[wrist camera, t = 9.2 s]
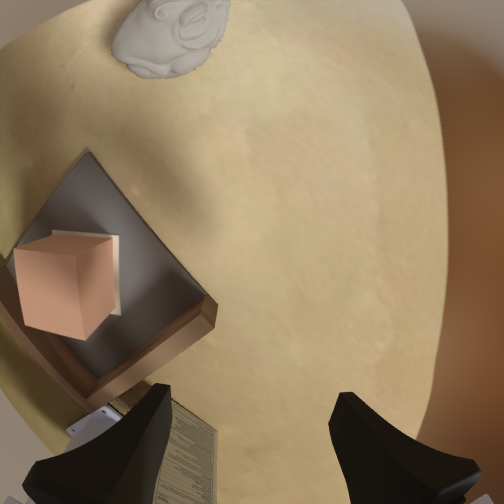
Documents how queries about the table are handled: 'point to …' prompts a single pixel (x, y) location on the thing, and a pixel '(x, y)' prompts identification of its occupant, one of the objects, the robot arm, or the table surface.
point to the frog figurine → (169, 36)
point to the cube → (66, 283)
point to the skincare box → (188, 462)
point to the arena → (126, 294)
